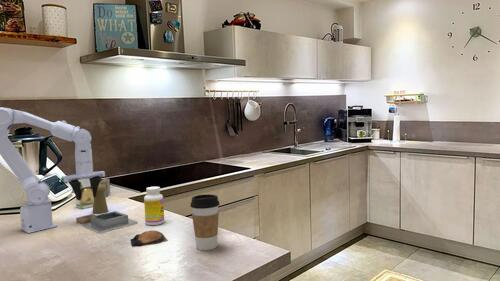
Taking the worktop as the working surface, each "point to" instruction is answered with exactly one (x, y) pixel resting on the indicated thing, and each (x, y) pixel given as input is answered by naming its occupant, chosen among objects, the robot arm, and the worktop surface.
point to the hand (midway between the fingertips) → (86, 198)
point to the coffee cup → (205, 220)
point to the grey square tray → (108, 222)
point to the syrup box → (83, 184)
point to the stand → (84, 219)
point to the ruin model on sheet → (106, 186)
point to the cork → (100, 201)
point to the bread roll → (148, 238)
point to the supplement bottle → (154, 206)
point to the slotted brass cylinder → (86, 196)
